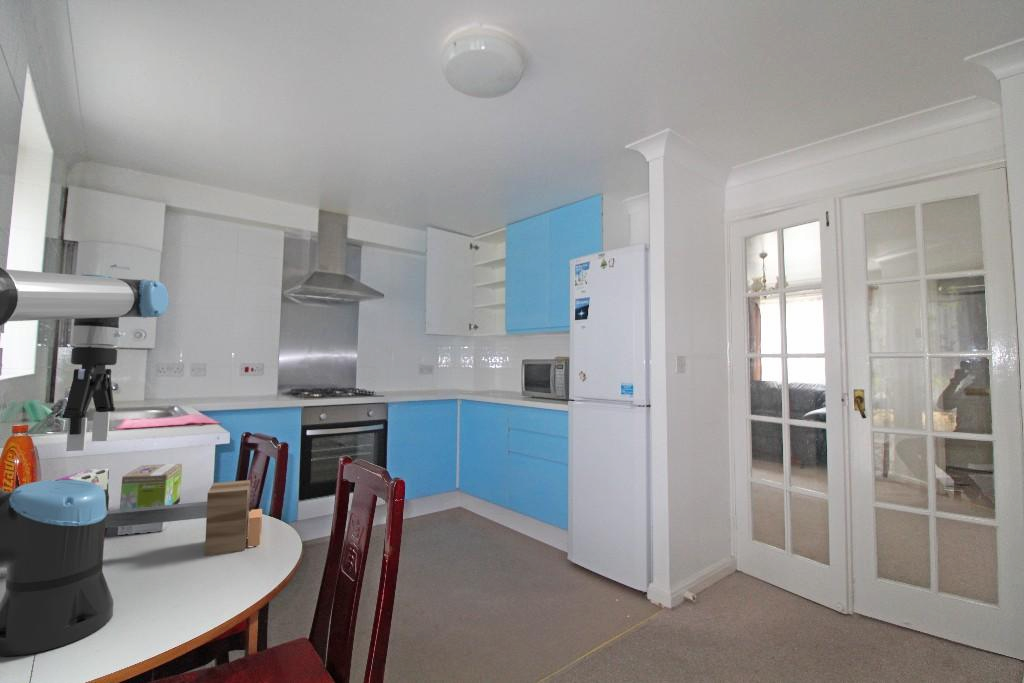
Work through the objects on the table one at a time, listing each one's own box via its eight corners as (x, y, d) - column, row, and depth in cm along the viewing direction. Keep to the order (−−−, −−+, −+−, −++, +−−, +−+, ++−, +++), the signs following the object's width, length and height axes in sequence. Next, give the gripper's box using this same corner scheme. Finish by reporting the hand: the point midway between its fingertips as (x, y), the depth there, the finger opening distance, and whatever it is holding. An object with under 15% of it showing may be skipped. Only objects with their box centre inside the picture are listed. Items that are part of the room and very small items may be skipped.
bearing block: (244, 550, 113) (247, 489, 114) (204, 555, 110) (207, 493, 110) (247, 536, 122) (250, 480, 123) (210, 540, 119) (213, 482, 119)
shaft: (213, 519, 113) (215, 485, 113) (81, 533, 103) (83, 495, 103) (215, 514, 117) (217, 481, 117) (88, 527, 107) (90, 490, 107)
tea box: (164, 532, 124) (167, 473, 125) (116, 536, 120) (119, 476, 121) (180, 514, 138) (182, 462, 139) (137, 517, 134) (140, 464, 135)
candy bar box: (85, 534, 121) (88, 468, 122) (107, 534, 122) (111, 468, 122) (49, 552, 110) (53, 479, 111) (73, 551, 111) (78, 478, 111)
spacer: (259, 546, 116) (260, 517, 116) (247, 548, 115) (248, 518, 115) (261, 536, 122) (262, 508, 122) (249, 538, 121) (251, 509, 121)
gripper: (96, 345, 95) (88, 454, 94) (133, 349, 118) (127, 436, 117) (46, 343, 92) (37, 456, 91) (94, 348, 115) (88, 438, 114)
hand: (88, 445), depth 104 cm, fingers open, 13 cm apart
